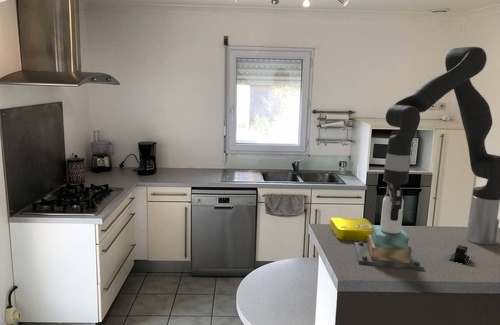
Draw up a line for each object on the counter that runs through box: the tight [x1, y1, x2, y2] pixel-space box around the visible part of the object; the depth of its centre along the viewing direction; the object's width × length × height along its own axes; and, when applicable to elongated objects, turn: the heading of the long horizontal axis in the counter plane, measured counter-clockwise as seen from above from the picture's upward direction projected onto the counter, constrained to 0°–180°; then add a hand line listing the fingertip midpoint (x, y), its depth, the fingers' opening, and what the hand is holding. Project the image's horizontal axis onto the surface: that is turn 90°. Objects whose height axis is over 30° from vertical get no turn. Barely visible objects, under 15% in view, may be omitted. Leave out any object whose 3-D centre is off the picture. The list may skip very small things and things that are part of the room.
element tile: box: [329, 217, 373, 242], centre depth 159 cm, size 15×15×5 cm
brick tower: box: [353, 224, 425, 271], centre depth 137 cm, size 20×16×9 cm
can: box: [380, 193, 405, 234], centre depth 135 cm, size 6×6×12 cm
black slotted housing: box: [448, 244, 470, 266], centre depth 139 cm, size 12×7×5 cm, turn 142°
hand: (391, 216), depth 135 cm, fingers open, 8 cm apart
